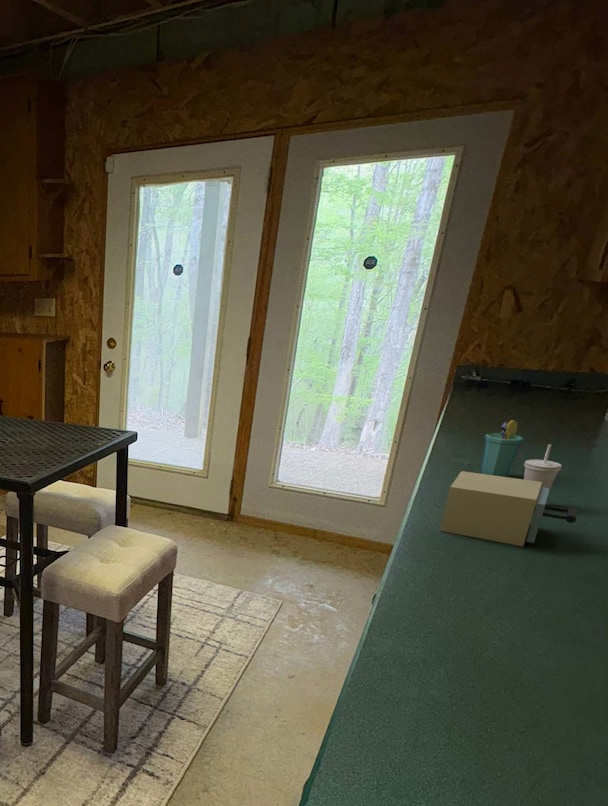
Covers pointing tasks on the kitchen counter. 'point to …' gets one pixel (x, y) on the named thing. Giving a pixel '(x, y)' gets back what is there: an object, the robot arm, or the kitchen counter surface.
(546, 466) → the smoothie
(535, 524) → the drawer
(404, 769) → the kitchen counter surface
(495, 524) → the tan drawer cabinet
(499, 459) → the cup
